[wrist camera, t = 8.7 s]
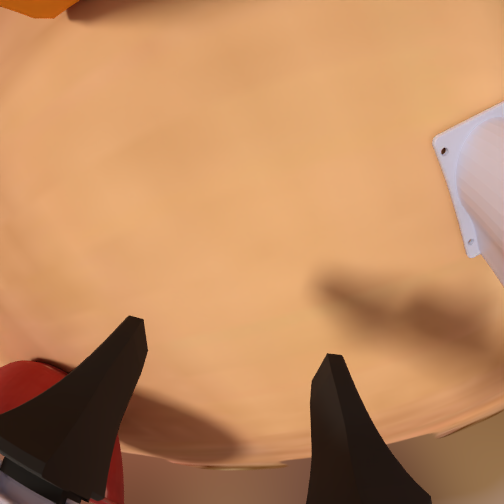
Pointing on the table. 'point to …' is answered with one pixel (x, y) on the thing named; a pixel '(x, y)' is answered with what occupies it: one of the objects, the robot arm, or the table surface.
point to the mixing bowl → (36, 382)
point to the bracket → (38, 7)
